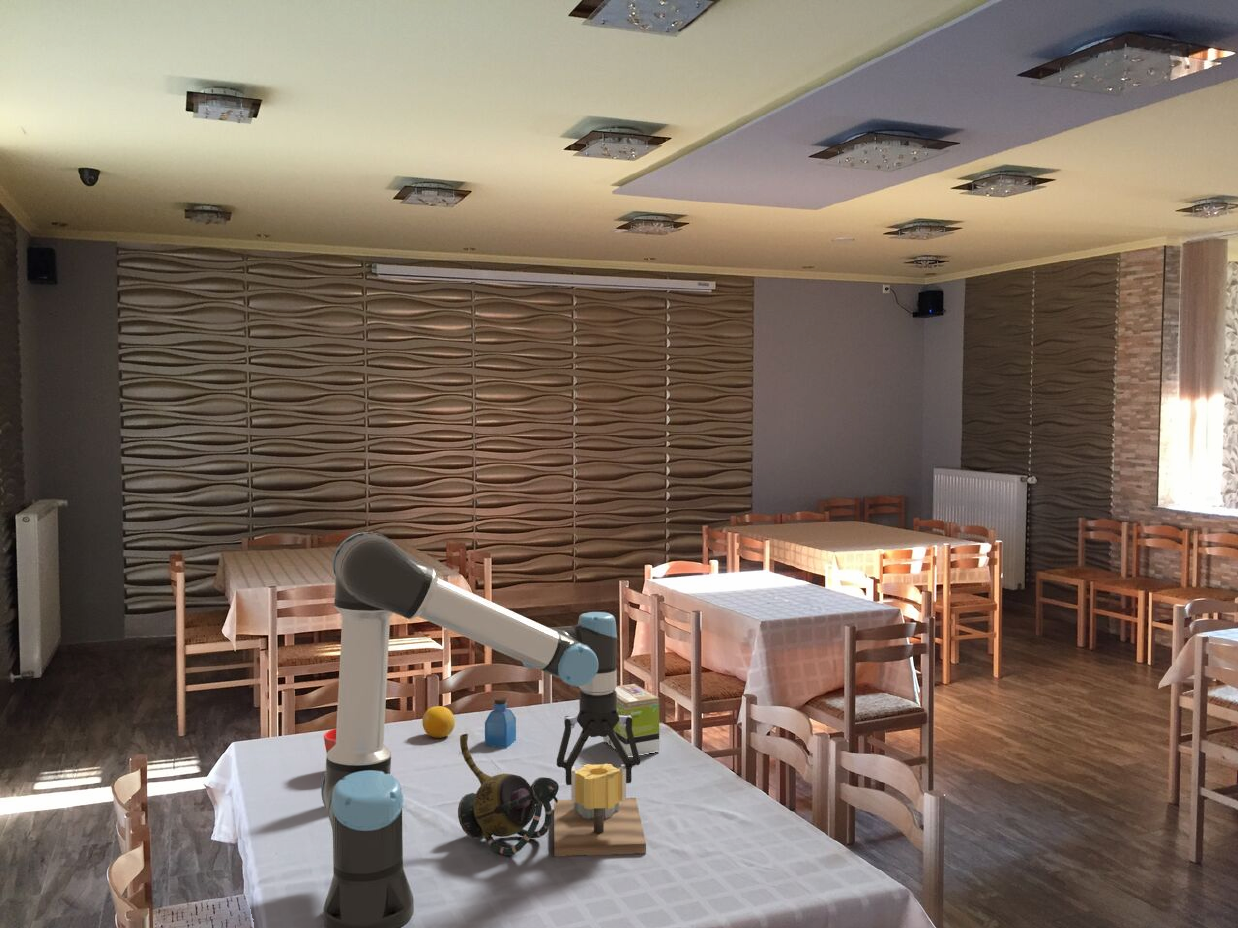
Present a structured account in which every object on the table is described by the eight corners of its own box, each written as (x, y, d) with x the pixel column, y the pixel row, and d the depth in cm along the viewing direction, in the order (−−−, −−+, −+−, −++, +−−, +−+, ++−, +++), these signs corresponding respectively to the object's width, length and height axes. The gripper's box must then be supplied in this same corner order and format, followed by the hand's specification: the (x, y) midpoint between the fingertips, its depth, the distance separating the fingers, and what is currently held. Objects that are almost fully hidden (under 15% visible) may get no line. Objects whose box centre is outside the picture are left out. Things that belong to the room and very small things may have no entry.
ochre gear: (620, 791, 208) (620, 762, 207) (623, 808, 199) (623, 778, 198) (574, 792, 207) (574, 764, 207) (575, 809, 198) (575, 779, 198)
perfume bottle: (484, 745, 263) (484, 700, 262) (494, 738, 269) (494, 694, 268) (506, 747, 261) (506, 702, 261) (516, 740, 267) (515, 696, 266)
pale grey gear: (626, 812, 213) (626, 784, 212) (590, 822, 208) (590, 793, 207) (602, 798, 220) (601, 771, 220) (566, 807, 215) (566, 780, 215)
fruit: (461, 735, 272) (460, 705, 271) (440, 743, 265) (440, 713, 265) (436, 729, 277) (436, 701, 276) (416, 737, 270) (415, 708, 269)
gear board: (646, 853, 197) (645, 808, 197) (554, 856, 196) (554, 811, 196) (635, 806, 221) (635, 766, 221) (554, 808, 220) (553, 768, 220)
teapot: (471, 869, 199) (558, 840, 188) (426, 749, 204) (509, 714, 193) (507, 847, 210) (592, 818, 199) (464, 733, 214) (545, 699, 203)
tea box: (601, 741, 266) (601, 686, 265) (635, 736, 270) (635, 682, 269) (625, 758, 252) (625, 700, 252) (660, 753, 257) (660, 696, 256)
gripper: (650, 683, 206) (651, 790, 207) (542, 686, 205) (543, 793, 206) (654, 693, 199) (655, 804, 200) (542, 696, 197) (543, 808, 198)
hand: (598, 799), depth 203 cm, fingers closed on ochre gear, 9 cm apart
